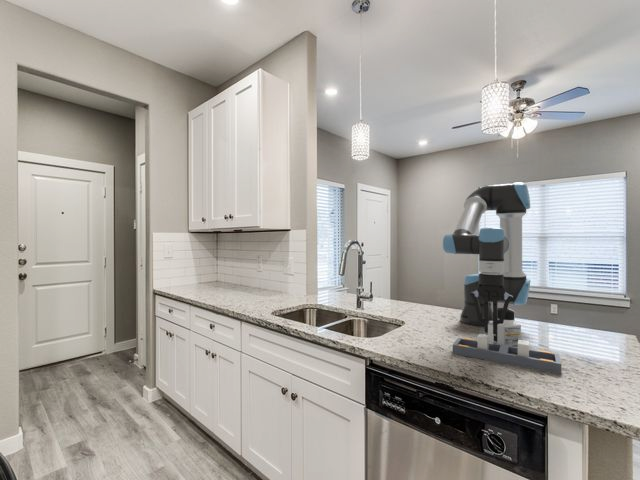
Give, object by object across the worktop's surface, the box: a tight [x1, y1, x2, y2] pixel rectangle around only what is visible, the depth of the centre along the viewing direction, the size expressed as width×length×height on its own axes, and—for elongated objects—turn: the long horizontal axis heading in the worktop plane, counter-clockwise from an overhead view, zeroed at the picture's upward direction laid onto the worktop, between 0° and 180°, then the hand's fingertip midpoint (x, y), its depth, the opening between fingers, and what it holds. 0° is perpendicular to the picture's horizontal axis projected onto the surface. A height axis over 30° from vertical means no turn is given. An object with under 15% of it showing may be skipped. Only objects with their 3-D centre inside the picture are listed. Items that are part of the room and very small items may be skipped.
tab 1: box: [476, 333, 489, 350], centre depth 109 cm, size 5×3×5 cm, turn 146°
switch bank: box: [452, 337, 562, 375], centre depth 106 cm, size 10×30×3 cm, turn 56°
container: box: [489, 307, 522, 347], centre depth 122 cm, size 8×8×13 cm
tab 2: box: [517, 339, 530, 357], centre depth 103 cm, size 5×3×5 cm, turn 146°
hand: (490, 342), depth 108 cm, fingers closed
